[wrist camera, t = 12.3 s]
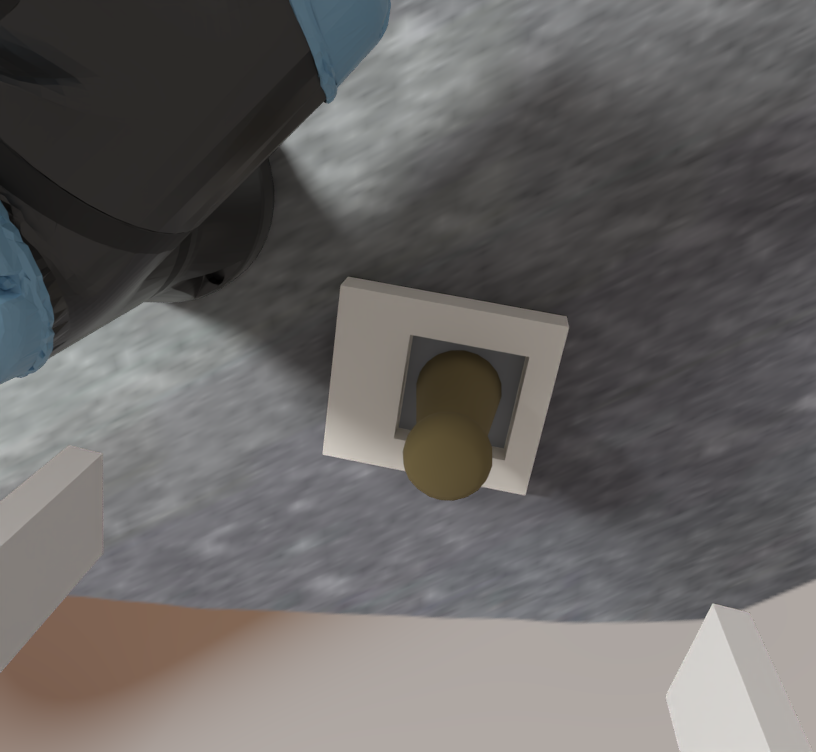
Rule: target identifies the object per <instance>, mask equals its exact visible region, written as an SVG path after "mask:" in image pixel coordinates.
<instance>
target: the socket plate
mask: <svg viewBox="0 0 816 752" xmlns="http://www.w3.org/2000/svg"><path fill="white" fill-rule="evenodd" d="M568 330H569V324H568V320H567V316H562V315H556V314H551V313H545V312H540V311H534V310H529V309H523V308H518V307H512V306H507V305H501V304H496V303H490V302H485V301H479V300H474V299H468V298H463V297H457V296H452V295H447V294H441V293H436V292H430V291H425V290H419V289H414V288H408V287H403V286H397V285H392V284H386V283H381V282H375V281H370V280H364V279H359V278H353V277H347V278H346V279H345V281H344V282H343V283H342V284H341V285H340V295H339V304H338V314H337V323H336V333H335V342H334V352H333V361H332V370H331V380H330V389H329V399H328V408H327V418H326V427H325V437H324V446H323V455H328V456H333V457H338V458H342V459H347V460H352V461H357V462H362V463H367V464H372V465H377V466H382V467H387V468H392V469H397V470H402V471H405V469H404V464H403V449H404V445H405V442H406V439H407V436H408V434H409V433H410V431H411V430H412V429H413V427H414V426H415V425H416V383H417V380H418V377H419V373H420V371H421V370H422V368H423V367H424V366H425V364H426V363H427V362H428V361H429V360H431V359H432V358H433V357H435V356H436V355H438V354H441V353H444V352H447V351H451V350H465V351H468V352H471V353H475V354H478V355H479V356H481V357H482V358H484V359H485V360H487V361H488V362H489V363H490V364H491V365H492V366H493V368H494V369H495V370H496V371H497V373H498V376H499V379H500V381H501V399H500V402H499V405H498V408H497V411H496V414H495V417H494V419H493V422H492V425H491V428H490V431H489V434H488V438H489V441H490V443H491V446H492V468H491V470H490V473H489V476H488V478H487V480H486V481H485V483H484V484H483V485H482V486H481V487H486V488H491V489H496V490H501V491H506V492H510V493H515V494H520V495H526V491H527V487H528V483H529V479H530V476H531V472H532V468H533V464H534V460H535V456H536V453H537V449H538V445H539V441H540V437H541V433H542V430H543V426H544V422H545V418H546V414H547V410H548V407H549V403H550V399H551V395H552V391H553V387H554V384H555V380H556V376H557V372H558V368H559V364H560V361H561V357H562V353H563V349H564V345H565V341H566V338H567V334H568Z"/></svg>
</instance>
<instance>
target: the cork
mask: <svg viewBox="0 0 816 752" xmlns="http://www.w3.org/2000/svg"><path fill="white" fill-rule="evenodd" d="M500 399H501V381H500V379H499V376H498V373H497V371H496V370H495V369H494V368H493V366H492V365H491V364H490V363H489V362H488V361H487V360H485V359H484V358H482V357H481V356H479V355H478V354H475V353H471V352H468V351H465V350H451V351H447V352H444V353H441V354H438V355H436V356H435V357H433V358H432V359H431V360H429V361H428V362H427V363H426V364H425V366H424V367H423V368H422V370H421V371H420V373H419V377H418V380H417V383H416V425H415V426H414V427H413V429H412V430H411V431H410V433H409V434H408V436H407V439H406V442H405V445H404V449H403V464H404V469H405V471H406V473H407V475H408V478H409V480H410V481H411V482H412V483H413V484H414V485H415V486H416V488H417V489H419V490H420V491H421V492H423V493H425V494H426V495H428V496H429V497H432V498H436V499H439V500H457V499H461V498H465V497H468V496H469V495H471V494H473V493H474V492H476V491H478V490H479V488H480V487H481V486H482V485H483V484H484V483H485V481H486V480H487V478H488V476H489V473H490V470H491V468H492V446H491V443H490V441H489V438H488V434H489V431H490V428H491V425H492V422H493V419H494V417H495V414H496V411H497V408H498V405H499V402H500Z"/></svg>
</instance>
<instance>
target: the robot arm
mask: <svg viewBox="0 0 816 752" xmlns="http://www.w3.org/2000/svg"><path fill="white" fill-rule="evenodd" d="M390 7H391V2H390V0H0V384H2V383H4V382H6V381H8V380H10V379H13V378H15V377H20V378H21V377H25V376H27V375H28V374H30V373H34V372H36V371H37V370H38V369H40V368H41V367H42V366H43V365H44V364H45V363H46V361H47V360H48V359H49V358H50V357H52V356H54V355H55V354H57V353H59V352H61V351H62V350H64V349H66V348H67V347H69V346H71V345H72V344H74V343H76V342H77V341H79V340H81V339H83V338H84V337H86V336H88V335H89V334H91V333H93V332H94V331H96V330H98V329H99V328H101V327H103V326H105V325H106V324H108V323H110V322H111V321H113V320H115V319H116V318H118V317H120V316H121V315H123V314H125V313H127V312H128V311H130V310H132V309H133V308H135V307H137V306H138V305H140V304H142V303H143V302H172V303H174V302H184V301H190V300H194V299H198V298H201V297H204V296H207V295H209V294H211V293H213V292H215V291H217V290H219V289H221V288H222V287H224V286H225V285H227V284H228V283H230V282H231V281H232V280H234V279H235V278H237V277H238V276H239V275H241V274H242V273H243V272H244V271H245V270H246V269H247V268H248V267H249V266H250V265H251V263H252V262H253V261H254V260H255V258H256V257H257V255H258V254H259V252H260V250H261V249H262V247H263V245H264V242H265V240H266V238H267V235H268V232H269V229H270V225H271V221H272V215H273V206H274V189H273V179H272V174H271V169H270V165H269V161H268V157H269V156H270V155H271V154H272V153H273V152H274V151H275V150H276V149H277V148H278V147H279V146H280V145H281V144H282V143H283V142H284V141H285V140H286V139H287V138H288V137H289V136H290V135H291V134H292V133H293V132H294V131H295V130H296V129H297V128H298V127H299V126H300V125H301V124H302V123H303V122H304V121H305V120H306V119H307V118H308V117H309V116H310V115H311V114H312V113H313V112H314V111H315V110H316V109H317V108H318V107H319V106H320V105H321V104H322V103H323V102H325V103H330V102H332V101H333V100H334V98H335V97H336V94H337V88H338V86H339V85H340V84H341V83H342V82H343V81H344V80H345V79H346V78H347V77H348V76H349V74H350V73H351V72H352V71H353V70H354V69H355V68H356V67H357V66H358V65H359V63H360V62H361V61H362V60H363V59H364V58H365V57H366V56H367V55H368V54H369V53H370V51H371V50H372V49H373V48H374V47H375V46H376V45H377V44H378V42H379V41H380V40H381V38H382V36H383V34H384V33H385V31H386V28H387V26H388V21H389V15H390ZM102 554H103V453H99V452H95V451H91V450H87V449H82V448H78V447H74V446H70V445H68V446H67V447H66V448H65V449H64V450H62V451H61V452H60V453H59V454H57V455H56V456H55V457H54V458H53V459H51V460H50V461H49V462H48V463H47V464H45V465H44V466H43V467H42V468H40V469H39V470H38V471H37V472H36V473H34V474H33V475H32V476H31V477H30V478H28V479H27V480H26V481H25V482H23V483H22V484H21V485H20V486H19V487H17V488H16V489H15V490H14V491H12V492H11V493H10V494H9V495H8V496H6V497H5V498H4V499H3V500H2V501H0V673H1V671H2V670H3V669H4V668H5V667H6V666H7V665H8V663H9V662H10V661H11V660H12V659H13V658H14V656H15V655H16V654H17V653H18V652H19V651H20V649H21V648H22V647H23V646H24V645H25V644H26V643H27V641H28V640H29V639H30V638H31V637H32V636H33V634H34V633H35V632H36V631H37V630H38V629H39V627H40V626H41V625H42V624H43V623H44V622H45V620H46V619H47V618H48V617H49V616H50V615H51V613H52V612H53V611H54V610H55V609H56V608H57V607H58V605H59V604H60V603H61V602H62V601H63V600H64V598H65V597H66V596H67V595H68V594H69V593H70V592H71V590H72V589H73V588H74V587H75V586H76V585H77V583H78V582H79V581H80V580H81V579H82V578H83V576H84V575H85V574H86V573H87V572H88V571H89V570H90V568H91V567H92V566H93V565H94V564H95V563H96V561H97V560H98V559H99V558H100V557H101V556H102ZM666 700H667V704H668V708H669V712H670V715H671V719H672V723H673V727H674V731H675V735H676V739H677V743H678V747H679V751H680V752H813V750H812V748H811V746H810V744H809V741H808V739H807V737H806V735H805V732H804V730H803V728H802V726H801V724H800V721H799V719H798V717H797V715H796V713H795V710H794V708H793V706H792V704H791V702H790V699H789V697H788V695H787V693H786V691H785V689H784V686H783V684H782V682H781V680H780V678H779V675H778V673H777V671H776V669H775V667H774V664H773V662H772V660H771V658H770V656H769V653H768V651H767V649H766V647H765V645H764V642H763V640H762V638H761V636H760V634H759V632H758V629H757V627H756V625H755V623H754V620H753V619H752V616H751V614H750V612H746V611H742V610H737V609H733V608H729V607H725V606H721V605H717V604H712V606H711V608H710V610H709V612H708V613H707V615H706V617H705V619H704V621H703V623H702V625H701V627H700V629H699V631H698V633H697V635H696V637H695V639H694V641H693V643H692V645H691V647H690V649H689V651H688V653H687V655H686V657H685V659H684V661H683V663H682V665H681V667H680V668H679V670H678V673H677V675H676V676H675V678H674V680H673V682H672V684H671V687H670V688H669V690H668V692H667V695H666Z"/></svg>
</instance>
